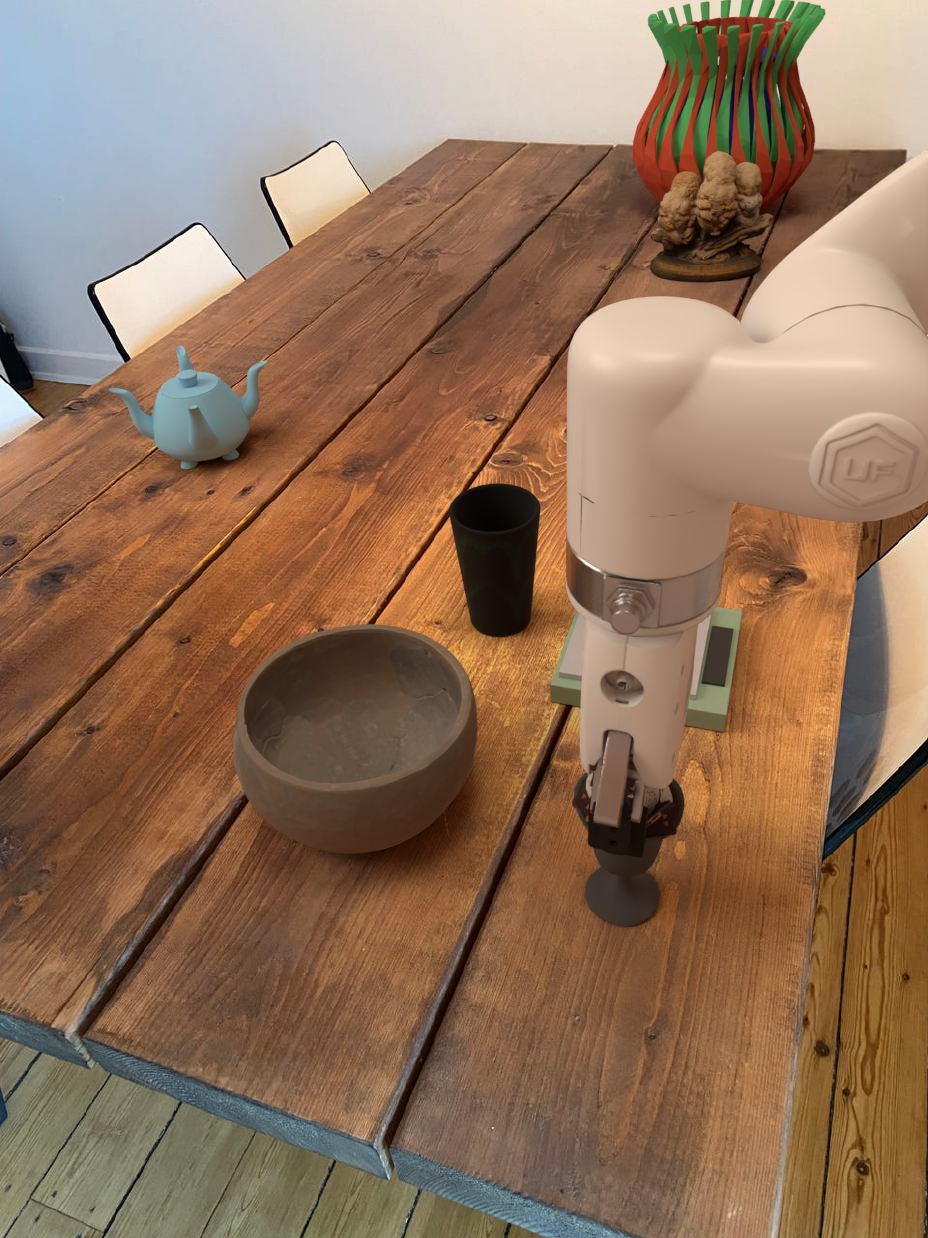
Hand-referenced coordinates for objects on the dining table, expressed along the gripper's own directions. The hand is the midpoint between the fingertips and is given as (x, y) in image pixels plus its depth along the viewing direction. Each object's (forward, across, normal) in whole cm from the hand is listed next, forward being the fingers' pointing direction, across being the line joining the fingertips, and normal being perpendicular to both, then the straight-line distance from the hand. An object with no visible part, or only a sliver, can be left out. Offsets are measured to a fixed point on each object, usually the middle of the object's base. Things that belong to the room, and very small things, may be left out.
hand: (627, 798), depth 57 cm
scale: (+10, +23, +2) cm, 25 cm away
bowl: (+10, +4, +20) cm, 23 cm away
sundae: (+10, 0, 0) cm, 10 cm away
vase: (+10, +144, +10) cm, 145 cm away
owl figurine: (+10, +115, +8) cm, 116 cm away
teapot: (+10, +48, +59) cm, 77 cm away
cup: (+10, +26, +16) cm, 32 cm away
